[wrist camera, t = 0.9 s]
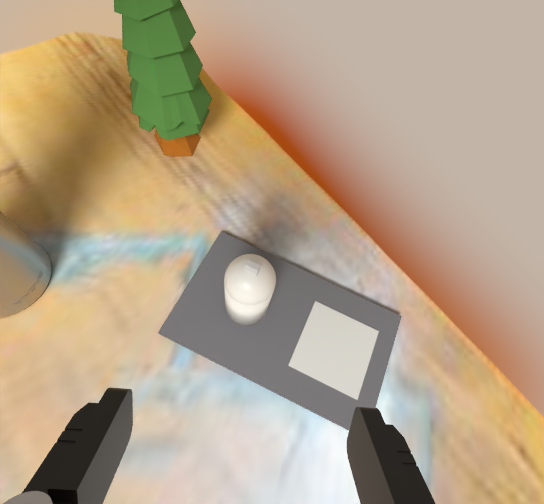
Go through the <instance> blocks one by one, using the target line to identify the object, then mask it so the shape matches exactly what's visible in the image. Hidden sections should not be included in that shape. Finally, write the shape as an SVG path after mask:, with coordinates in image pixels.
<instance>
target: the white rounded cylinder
mask: <svg viewBox="0 0 544 504" xmlns="http://www.w3.org/2000/svg"><path fill="white" fill-rule="evenodd" d="M275 285H276V274H275V271H274V269H273V267H272V265H271V264H270V263H269V262H268V261H267V260H266V259H265V258H263V257H261V256H259V255H255V254H245V255H242V256H239V257H237V258H236V259H234V260H233V261H232V262H231V263H230V264H229V266H228V267H227V269H226V272H225V276H224V290H225V309H226V312H227V315H228V316H229V318H230V319H231V320H232V321H234V322H235V323H237V324H239V325H244V326H248V325H253V324H256V323H257V322H259V321H260V320H261V319H262V318H263V317H264V315H265V313H266V311H267V308H268V305H269V303H270V300H271V297H272V294H273V292H274V289H275Z"/></svg>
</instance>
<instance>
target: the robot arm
mask: <svg viewBox="0 0 544 504" xmlns="http://www.w3.org/2000/svg"><path fill="white" fill-rule="evenodd" d="M50 277H51V262H50V259H49V256H48V255H47V253H46V252H45V251H44V250H43V249H42V248H41V247H40V246H39V245H38V244H36V243H35V242H34V241H33V240H32V239H31V238H30V237H29V236H28V235H26V234H25V233H24V232H23V231H22V230H21V229H20V228H19V227H18V226H16V225H15V224H14V223H13V222H12V221H11V220H10V219H9V218H7V217H6V216H5V215H4V214H3V213H2V212H1V211H0V318H2V317H7V316H10V315H13V314H16V313H18V312H20V311H22V310H24V309H26V308H27V307H28V306H30V305H31V304H33V303H34V302H35V301H36V300H37V299H38V298H39V297H40V296H41V295H42V293H43V292H44V290H45V289H46V287H47V285H48V283H49V280H50ZM132 425H133V409H132V390H131V389H121V388H108V389H107V390H106V392H105V393H104V395H103V397H102V398H101V400H100V402H99V403H88V404H86V405H85V406H84V407H83V408H81V409H80V410H79V411H78V412H77V413H75V414H74V416H73V417H72V419H71V420H70V422H69V423H68V425H67V426H66V428H65V431H63V432H62V434H61V435H60V437H59V438H58V440H57V443H55V444H54V446H53V447H52V449H51V450H50V452H49V453H48V455H47V456H46V458H45V459H44V461H43V462H42V464H41V465H40V467H39V469H38V470H37V472H36V473H35V475H34V476H33V478H32V479H31V481H30V482H29V484H28V485H27V487H26V488H25V489H24V491H23V492H22V493H21V494H19V495H17V496H15V497H13V498H11V499H9V500H8V501H6V502H5V503H4V504H103V501H104V499H105V496H106V494H107V492H108V489H109V487H110V485H111V482H112V480H113V478H114V475H115V473H116V471H117V468H118V466H119V464H120V461H121V459H122V457H123V454H124V452H125V449H126V447H127V445H128V442H129V439H130V436H131V432H132ZM347 454H348V459H349V463H350V467H351V470H352V474H353V478H354V481H355V485H356V488H357V492H358V496H359V499H360V503H361V504H435V502H434V500H433V498H432V495H431V493H430V491H429V489H428V487H427V485H426V483H425V481H424V479H423V477H422V474H421V472H420V470H419V468H418V466H416V462H415V460H414V458H413V455H412V454H411V451H410V449H409V447H408V445H407V443H406V441H405V439H404V437H403V436H402V435H401V434H400V433H399V431H398V430H397V429H396V428H395V427H394V426H393V425H386V424H385V422H384V420H383V418H382V416H381V413H380V411H379V410H378V409H377V408H368V407H356V408H355V410H354V414H353V418H352V422H351V426H350V430H349V434H348V438H347Z"/></svg>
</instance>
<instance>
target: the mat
mask: <svg viewBox="0 0 544 504" xmlns="http://www.w3.org/2000/svg"><path fill="white" fill-rule="evenodd" d="M245 254H255V255H259V256H261V257H263V258H265V259H266V260H267V261H268V262H269V263H270V264H271V265H272V267H273V269H274V271H275V274H276V285H275V289H274V292H273V294H272V297H271V300H270V303H269V305H268V308H267V311H266V313H265V315H264V317H263V318H262V319H261V320H260V321H259V322H257V323H256V324H253V325H248V326H244V325H239V324H237V323H235V322H234V321H232V320H231V319H230V318H229V316H228V315H227V312H226V309H225V290H224V276H225V272H226V269H227V267H228V266H229V264H230V263H231V262H232V261H233V260H234V259H236V258H237V257H239V256H242V255H245ZM400 319H401V316H400V315H398V314H396V313H394V312H392V311H390V310H387V309H385V308H383V307H381V306H379V305H377V304H375V303H373V302H370V301H368V300H366V299H364V298H362V297H360V296H358V295H356V294H353V293H351V292H349V291H347V290H345V289H343V288H341V287H339V286H336V285H334V284H332V283H330V282H328V281H326V280H324V279H322V278H319V277H317V276H315V275H313V274H311V273H309V272H307V271H305V270H302V269H300V268H298V267H296V266H294V265H292V264H290V263H288V262H285V261H283V260H281V259H279V258H277V257H275V256H273V255H271V254H268V253H266V252H264V251H262V250H260V249H258V248H256V247H254V246H251V245H249V244H247V243H245V242H243V241H241V240H239V239H237V238H234V237H232V236H230V235H228V234H226V233H224V232H222V231H221V233H220V234H219V236H218V237H217V239H216V241H215V242H214V244H213V246H212V247H211V249H210V250H209V252H208V254H207V255H206V257H205V258H204V260H203V262H202V263H201V265H200V266H199V268H198V270H197V271H196V273H195V274H194V276H193V278H192V279H191V281H190V282H189V284H188V286H187V287H186V289H185V291H184V292H183V294H182V295H181V297H180V299H179V300H178V302H177V303H176V305H175V307H174V308H173V310H172V311H171V313H170V315H169V316H168V318H167V319H166V321H165V323H164V324H163V326H162V327H161V329H160V331H159V332H158V333H159V334H160V335H162V336H164V337H166V338H168V339H170V340H172V341H174V342H176V343H178V344H180V345H182V346H184V347H186V348H188V349H190V350H192V351H194V352H196V353H198V354H200V355H202V356H204V357H206V358H208V359H209V360H211V361H213V362H215V363H217V364H219V365H221V366H223V367H225V368H227V369H229V370H231V371H233V372H235V373H237V374H239V375H241V376H243V377H245V378H247V379H249V380H251V381H253V382H255V383H257V384H259V385H261V386H262V387H264V388H266V389H268V390H270V391H272V392H274V393H276V394H278V395H280V396H282V397H284V398H286V399H288V400H290V401H292V402H294V403H296V404H298V405H300V406H302V407H304V408H306V409H308V410H310V411H312V412H314V413H316V414H317V415H319V416H321V417H323V418H325V419H327V420H329V421H331V422H333V423H335V424H337V425H339V426H341V427H343V428H345V429H347V430H350V426H351V422H352V418H353V414H354V410H355V408H356V407H368V408H375V406H376V403H377V400H378V396H379V393H380V389H381V386H382V382H383V379H384V375H385V372H386V368H387V365H388V361H389V358H390V354H391V351H392V347H393V344H394V340H395V337H396V333H397V330H398V326H399V323H400Z"/></svg>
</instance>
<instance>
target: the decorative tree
mask: <svg viewBox="0 0 544 504" xmlns="http://www.w3.org/2000/svg"><path fill="white" fill-rule="evenodd" d="M114 10H115V12H117V13H120V14H122V32H123V34H122V35H123V49H125V50H128V54H127V64H128V71H129V75H130V76H131V77H132V80H131V83H130V86H131V99H132V111H133V113H134V114H136V115H138V116H139V124H140V127H141V128H143V129H145V130H147V131H149V132H150V131H151V130H152V129H153V128H154V127H156V133H155V137H156V139H157V141H158V143H159V145H160V147H161V149H162V151H163V153H164V155H168V156H172V157H174V156H192V155H193V153H194V151H195V149H196V146H197V144H198V142H199V140H200V137H199V136H198V135H197V134H196V133H199V132H200V130H201V128H202V126H203V124H204V121H205V119H206V117H207V115H208V113H209V109H208V106H209V104H210V101H211V99H212V98H211V96H210V95H209V93H208V91H207V90H206V88H205V87H204V85H203V84H202V82H201V80H200V79H199V77H198V76H199V74H200V71H201V68H202V66H203V65H202V63H201V61H200V59H199V58H198V56H197V54H196V52H195V50H194V48H193V47H192V45H191V43H190V41H191V39H192V38H193V36H194V35H195V33H196V32H195V30H194V28H193V26H192V23H191V21H190V19H189V17H188V15H187V13H186V11H185V9H184V7H183V5H182V3H181V1H180V0H114Z"/></svg>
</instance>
